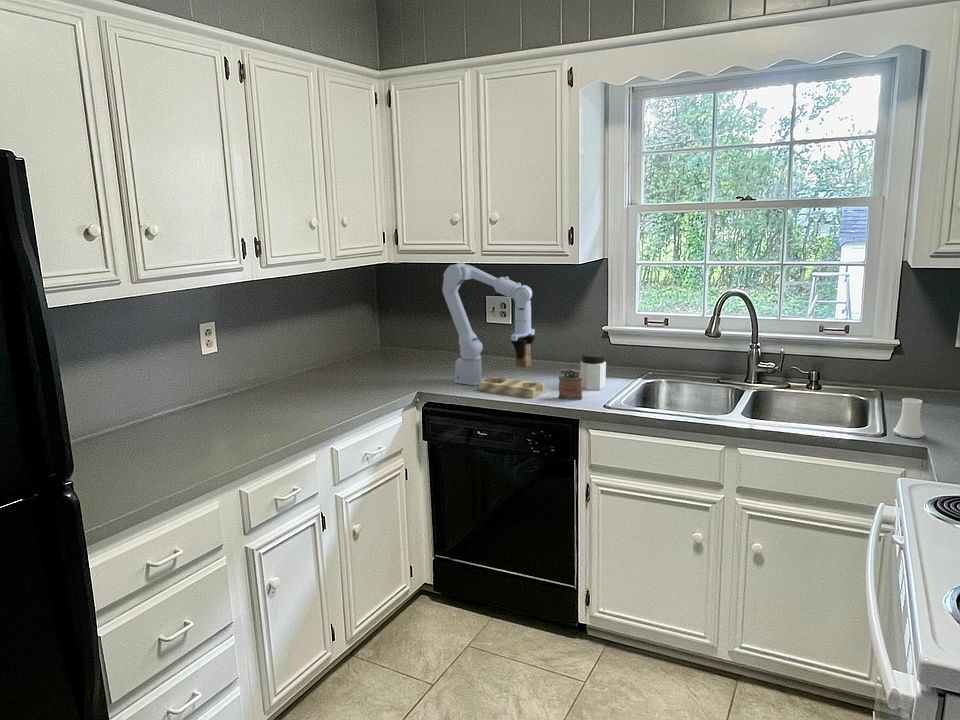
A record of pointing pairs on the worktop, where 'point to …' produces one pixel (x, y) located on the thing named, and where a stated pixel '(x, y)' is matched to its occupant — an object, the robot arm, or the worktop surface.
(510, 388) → the wooden tray with recesses
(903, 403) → the white flared vase
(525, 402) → the worktop surface
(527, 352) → the peg
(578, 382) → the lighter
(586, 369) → the jar
